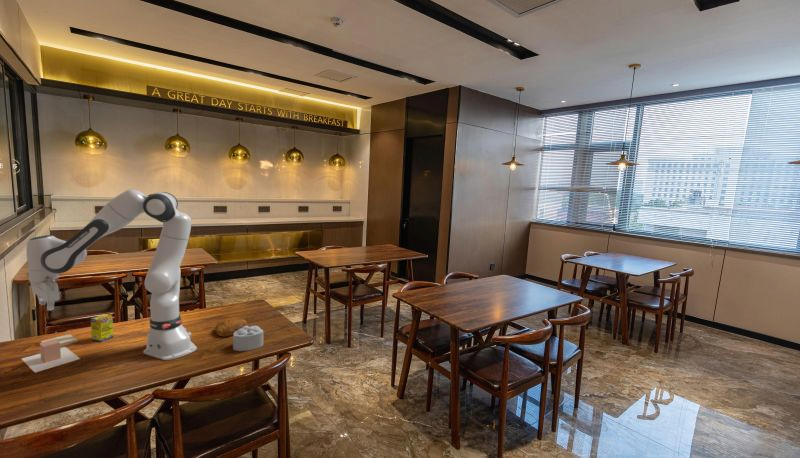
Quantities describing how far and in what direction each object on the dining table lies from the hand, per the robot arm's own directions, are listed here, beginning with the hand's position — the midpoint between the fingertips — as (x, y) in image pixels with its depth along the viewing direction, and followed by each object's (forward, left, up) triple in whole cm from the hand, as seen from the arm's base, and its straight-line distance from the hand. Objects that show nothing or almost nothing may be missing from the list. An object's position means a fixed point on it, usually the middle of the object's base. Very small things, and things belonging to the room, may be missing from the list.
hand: (46, 307), depth 149 cm
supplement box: (+6, -20, -23) cm, 31 cm away
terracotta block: (0, 0, -23) cm, 23 cm away
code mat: (0, 0, -23) cm, 23 cm away
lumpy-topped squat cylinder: (-52, -57, -23) cm, 81 cm away
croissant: (-31, -62, -23) cm, 73 cm away
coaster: (+16, -7, -23) cm, 29 cm away
